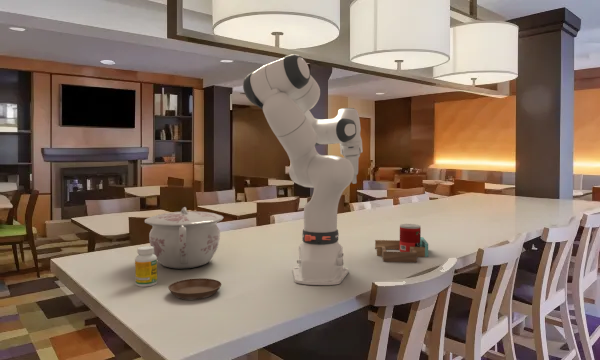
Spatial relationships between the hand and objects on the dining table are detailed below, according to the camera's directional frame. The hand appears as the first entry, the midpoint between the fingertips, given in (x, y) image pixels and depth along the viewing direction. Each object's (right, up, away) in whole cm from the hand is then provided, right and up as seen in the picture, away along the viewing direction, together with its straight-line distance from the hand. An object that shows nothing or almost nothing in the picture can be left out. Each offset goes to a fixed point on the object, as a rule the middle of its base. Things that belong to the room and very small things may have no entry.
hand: (354, 183), depth 179 cm
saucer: (-52, -32, -52) cm, 80 cm away
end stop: (+27, -28, -4) cm, 39 cm away
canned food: (+21, -28, -4) cm, 35 cm away
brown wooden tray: (+17, -28, -3) cm, 33 cm away
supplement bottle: (-69, -31, -43) cm, 87 cm away
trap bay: (+15, -28, -13) cm, 35 cm away
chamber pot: (-63, -29, -19) cm, 72 cm away
